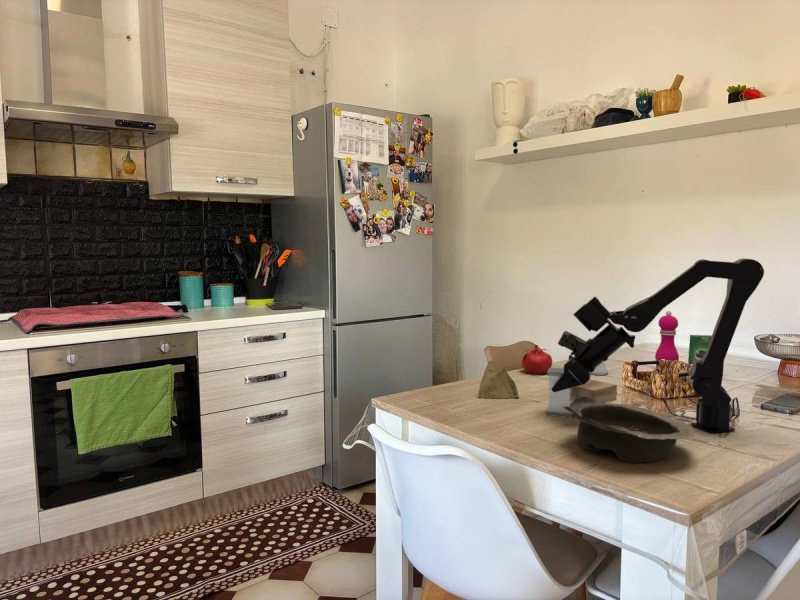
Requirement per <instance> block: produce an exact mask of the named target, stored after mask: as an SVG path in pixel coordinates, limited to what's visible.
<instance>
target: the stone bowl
mask: <svg viewBox="0 0 800 600" xmlns="http://www.w3.org/2000/svg"><path fill="white" fill-rule="evenodd" d="M563 408H564V409H567V410H568V411H570V412H571V413H573V414H572V415H573V416H574V418H575V419H576V420H578V421H579V423H578V424H579V425H578V429H577V434H576V436H577V437H576V438H577V443H578V446H580V447H581V448H582V449H584V450H587V451H588V450H589V451H595V452H596V451H602V450H611V451H613V452H614V453H615V455H616V456H617V458H618V459H619V460H620V461H622V462H627V463H630V464H639V463H641V462H644V463H647V464H649V463H653V462H657V460H658V459H663V458H664V459H665V458H667V457H668V455H669V454H670V452H671V451H672V450H673V448H674V447H675V445H676V444H677V441H678V440H685V439H689V438H693V437H694V438H695V435H694V434H695V430H694V429H693V427H692V425H690V424H688V423H687V422H684V421H680V420H678V418H675V417H673V416H671V415H667V414H664V413H660V412H657V411H654V410H653V411H652V410H650V409H646V408H645V407H639V406H634V405H630V404H622V403H611V402H610V403H609V402H606V403H599V402H597V401H595V400H593V399H592V398H587V397H585V396H584V397H581V398H576V399H575V401H574V400H572V401H571V404H570V406H569V407H568V406H566V407H563Z"/></svg>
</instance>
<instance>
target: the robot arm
mask: <svg viewBox="0 0 800 600" xmlns="http://www.w3.org/2000/svg"><path fill="white" fill-rule="evenodd" d="M764 275H765V269H764V267H763V265H762V264H761V263H760V262H759V261H758V260H755V259H753V258H745V257H743V258H738V259H737V260H735V261H733V262H732V261H719V260H708V259H706V258H705V259H704V258H703V259H702V258H701V259H697V260H696V261H695V262H694V263H693V265H691V266H690V267H688V268H687V269H686V270H685V271H683V272H682V273H681V274H679V275H677V277H675V278H674V279H672V280H671V281H670V282H669V283H666V284H665V285H664V286H663V287H661V288H660V289H659V290H658V291H656V292H655V293H653V294H652V295H650V296H649V297H646V298H644V299H641V300H639V301H637V302H634V303H633V304H632V305H630V306H629V305H628V306H627V307H626V308H625V309H624V310H617V311H616V310H613V311H609V310H608V309H607V308H606V307H605V305H603V304H602V302H601V301H600V299H599V298H597V296H593V297H592V298H591V299H590V300H588V301H587V302H586V303H584V304H583V305H582V306H581V307H579V309H577V310H576V311H575V312H574V313H573V314H572V315H573V316H574V318H576V319H577V321H579V323H581V324H582V326H583V327H584V328H585V329H587V331H589V332H591V331H592V332H595V333H596V332H598V331H600V330H601V329H602V330H601V331H600V332H598V333H597V334H596V335H595V336H594V337H592V338H588V339H587V340H585V339H582V338H581V337H580V336H577V335H575V334H574V333H572V332H569V331H567V330H564V331H563V333H562V334H561V337H560V338H559V340H558V342H557V344H558V345H559V346H560V347H564V348H566V349H567V350H570V351H571V352H570V354H569V356H568V360H567V361H566V362H565V363H564V365H563V368H564V374H563V375H562V376H561V377H560V379H559V380H558V381H557V382H556V384H555V385H554V386H553V387H552V389H551V390H552V391H553V392H558V391H561V390H565V389H568V388H572V387H575V386H579V385H580V386H581V385H582V384H583V385H584V384H585V383H587V382H588V381H589V380H591V377H592V376H591V375H592V374H591V373H592V372H593V371H594V370H595V368H596V367H597V366H599V365H600V364H601V363H602V362H603V361H604V362H606V361H608V360H609V357H610V356H612V355H613V354H614V353H615V352H616V351H618V350H619V349H620V348H621V347H623V346H624V345H625V344H627V346H629V347H630V348H632V349H633V348H635V339H636V335H635V334H630V333H628V331H629V332H631V333H641V331H643V330H645V329H646V328H647V327H648V326H649V325H650V324H651V323H652V322H653V321H654V320H655V318H656V317H657V316H659V314H660V312H661V311H662V310H663V309H665V308H666V307H667V306H669V305H670V304H672V303H673V302H674V301H676V300H677V299H678V298H679V297H681V296H682V295H684V294H685V293H687V292H688V291H689V290H691V289H692V288H694V287H695V286H696V285H699V283H701V282H702V281H703V280H705V279H706V278H715V279H724V280H726V281H727V282H726V296H725V299H724V301H723V304H722V307H721V310H720V313H719V315H718V318H717V321H716V323H715V325H714V329H713V331H712V334H711V335H712V336H711V339H710V342H709V344H708V347H707V350H706V352H705V354H704V355H703V357H702V358H701V359H700V360H698V359H696V358H694V359H693V365H692V368H691V370H690V371H689V372H688V371H687V375H688V374H689V375H688V376H689V382H690V385H691V387H692V390H693V391H694V393H695V394H696V395H697V396H699V397H701V398H697V404H696V411H695V412H696V414H695V422H691V425H690V426H691V427H692V426H693V427H695V428H698V429H700V430H703V431H706V432H709V433H710V434H711V433H712V434H717V433H718V434H719V433H727V432H733V431H735V429H736V428H734V427H732V426H730V420H731V417H730V416H731V402H732V397H731V396H730V395H729V393H728V392H727V390H726V388H724V387H723V385H722V383H723V377H724V366H725V365H724V363H725V359H726V355H727V354H728V351H729V348H730V346H731V343H732V340H733V337H734V334H735V332H736V329H737V328H738V324H739V321H740V319H741V316H742V314H743V311H744V309H745V306H746V303H747V301H748V300H749V299H750V298H751V296H752V295H753V293H754V292H755V291H756V289H757V287H758V286H759V285H760V283H761V281H762V280H763V278H764ZM606 324H607V326H605V325H606ZM616 325H617V326H618V325H619V326H620V327H617V326H616ZM604 326H605V327H604ZM603 327H604V328H603ZM624 328H625V329H624ZM626 330H627V331H626Z"/></svg>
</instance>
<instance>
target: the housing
mask: <svg viewBox="0 0 800 600" xmlns="http://www.w3.org/2000/svg"><path fill="white" fill-rule="evenodd" d="M563 374H564V367H563V368H561V367H551V368H549V369H548V371H547V374H546V376H549V377H548V407H547V410H546V412H545V413H546V414H545V415H546V416H549V415H556V416H555V417H559V416H565V417H564V418H569V417H571V418H572V417H573V415H574V414H573V413H571V412H570V411H568V410H567V409H564V408H563V407H566V406H568V407H569V406H570V404H571V403H572V400H571V398H572V388H568V389H565V390H561V391H558V392H553V391H552V390H551V389H552V387H553V386H554V385H555V384H556V382H557V381H558V380H559V379H560V377H561V376H562V375H563Z"/></svg>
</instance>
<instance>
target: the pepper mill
mask: <svg viewBox="0 0 800 600" xmlns="http://www.w3.org/2000/svg"><path fill="white" fill-rule="evenodd" d="M672 313H673V312H672V311H671V310H667V311H666V312H665V315H663V316H661V317H660V318H659V320H658V323H657V324H658V327H659V328H660V330H659V335H660V338H661V339H660V344H659V346H658V347H657V349H656V351H655V355H654V358H655V361H657V360H661V359H665V360H677V361H680V357H679V356H680V355H679V352H678V350H677V346H676V344H675V335H677V330H676V329H678V327H679V320H678V319H677V317H675V316H673V315H672Z"/></svg>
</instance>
